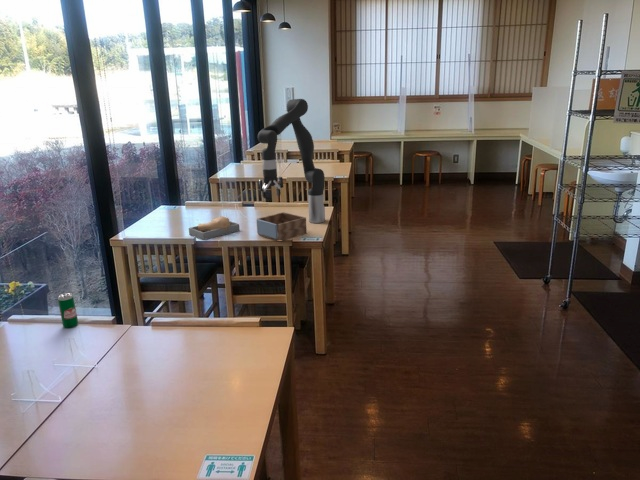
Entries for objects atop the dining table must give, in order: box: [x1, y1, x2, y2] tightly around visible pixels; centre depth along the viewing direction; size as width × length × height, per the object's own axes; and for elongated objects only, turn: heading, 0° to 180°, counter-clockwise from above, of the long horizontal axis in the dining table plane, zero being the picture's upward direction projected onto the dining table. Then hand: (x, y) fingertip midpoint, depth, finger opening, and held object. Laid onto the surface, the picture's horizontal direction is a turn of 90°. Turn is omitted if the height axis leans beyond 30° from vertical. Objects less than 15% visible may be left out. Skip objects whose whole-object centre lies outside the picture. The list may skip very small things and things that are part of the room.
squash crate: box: [188, 220, 241, 241], centre depth 292 cm, size 25×16×4 cm, turn 134°
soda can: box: [57, 292, 79, 329], centre depth 180 cm, size 5×5×12 cm
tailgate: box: [256, 218, 278, 239], centre depth 277 cm, size 1×17×8 cm, turn 44°
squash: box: [197, 215, 231, 232], centre depth 292 cm, size 11×20×9 cm, turn 86°
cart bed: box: [257, 211, 308, 241], centre depth 285 cm, size 20×20×10 cm
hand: (271, 196), depth 275 cm, fingers open, 8 cm apart
